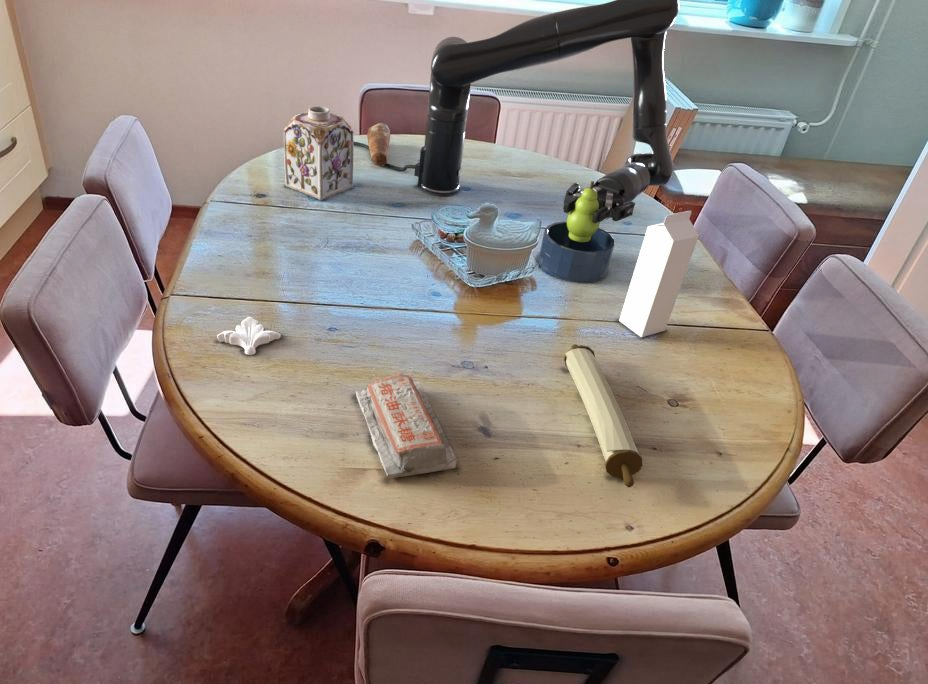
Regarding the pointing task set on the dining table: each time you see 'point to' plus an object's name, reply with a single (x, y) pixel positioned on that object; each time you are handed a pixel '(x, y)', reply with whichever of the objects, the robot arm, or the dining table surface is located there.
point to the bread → (379, 143)
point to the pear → (583, 216)
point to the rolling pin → (604, 414)
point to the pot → (575, 254)
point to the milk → (659, 274)
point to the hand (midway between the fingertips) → (580, 213)
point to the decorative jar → (318, 153)
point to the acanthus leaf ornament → (248, 335)
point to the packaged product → (404, 427)
